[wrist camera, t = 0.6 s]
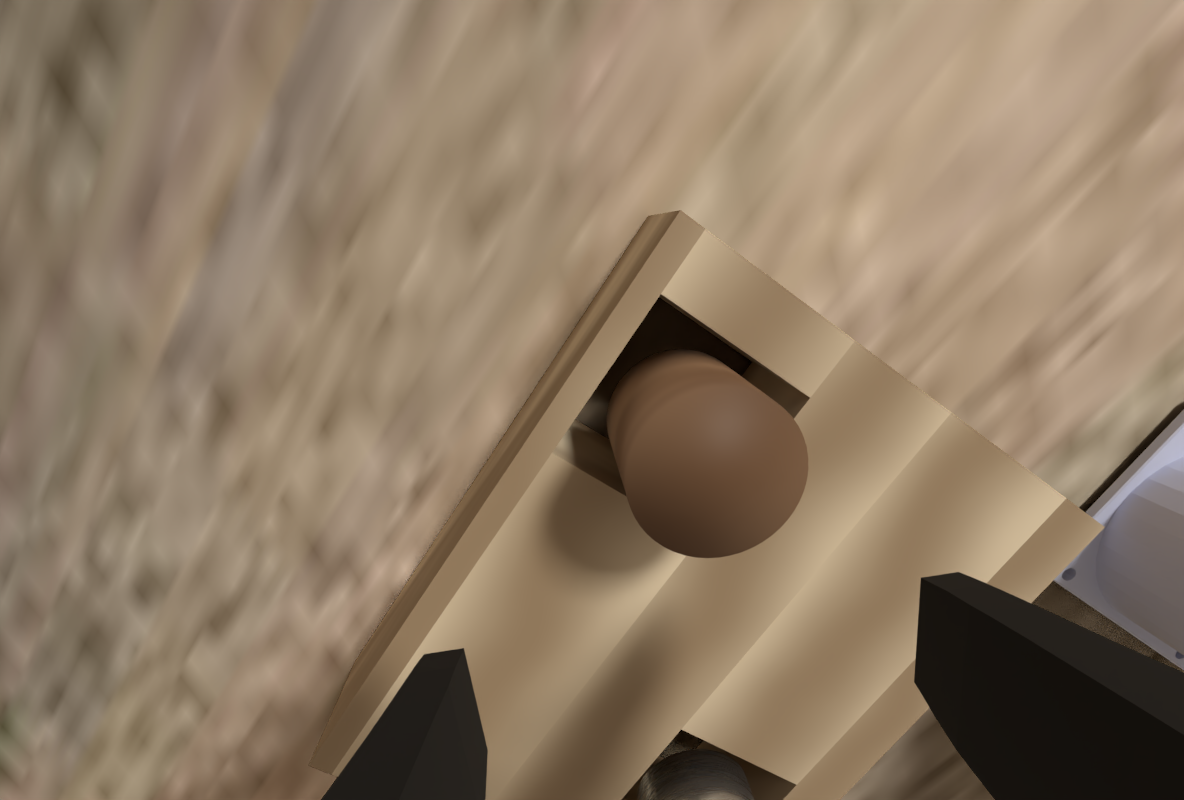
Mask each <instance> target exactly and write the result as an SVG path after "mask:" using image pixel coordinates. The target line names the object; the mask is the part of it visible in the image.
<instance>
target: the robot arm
mask: <svg viewBox="0 0 1184 800" xmlns="http://www.w3.org/2000/svg"><path fill="white" fill-rule="evenodd" d="M1085 513H1087V514H1088V515H1089V516H1091V517H1092V518H1093V519H1095V520H1096V521H1097V522H1099V523H1100V524H1101V525H1103V526H1104V527H1105V528H1104V529H1103V530H1102V531H1101V532H1100V533H1099V534H1098V535H1097V536H1096V537H1095V538H1094V539H1093V540H1092V541H1091V542H1090V543H1089V544H1088V545H1087V546H1086V547H1085V548H1084V549H1083V550H1082V551H1081V552H1080V553H1079V554H1078V556H1077V557H1076V558H1075V559H1074V560H1073V561H1072V562H1071V563H1070V564H1069V565H1068V566H1067V567H1066V568H1065V569H1064V570H1063V571H1062V572H1061V573H1060V574H1059V575H1058V576H1057V577H1056V578H1055V579H1054V580H1053V581H1055V582H1056V583H1057V584H1059V585H1060V586H1062V587H1063V588H1065V589H1066V590H1068V591H1069V592H1071V593H1072V594H1073V595H1075V596H1076V597H1078V598H1079V599H1081V600H1082V601H1084V602H1085V603H1086V604H1088V605H1089V606H1091V607H1092V608H1094V609H1095V610H1097V611H1098V612H1100V613H1101V614H1102V615H1104V616H1105V617H1107V618H1108V619H1110V620H1111V621H1113V622H1114V623H1116V624H1117V625H1118V626H1120V627H1121V628H1123V629H1124V630H1126V631H1127V632H1129V633H1130V634H1132V635H1133V636H1134V637H1136V638H1137V639H1139V640H1140V641H1142V642H1143V643H1145V644H1146V645H1148V646H1149V647H1150V648H1152V649H1153V650H1155V651H1156V652H1158V653H1159V654H1161V655H1162V656H1163V657H1165V658H1166V659H1168V660H1169V661H1171V662H1172V663H1174V664H1175V665H1177V666H1178V667H1179V668H1181V669H1182V670H1184V409H1183V410H1182V412H1181V413H1180V414H1179V415H1178V416H1177V417H1176V418H1175V419H1174V420H1173V421H1172V422H1171V423H1170V424H1169V425H1168V426H1167V427H1166V428H1165V429H1164V430H1163V431H1162V432H1161V434H1160V435H1159V436H1158V437H1157V438H1156V439H1155V440H1154V441H1153V442H1152V443H1151V444H1150V445H1149V446H1148V447H1147V448H1146V449H1145V450H1144V451H1143V452H1142V453H1141V454H1140V455H1139V457H1138V458H1137V459H1136V460H1135V461H1134V462H1133V463H1132V464H1131V465H1130V466H1129V467H1128V468H1127V469H1126V470H1125V471H1124V472H1123V473H1122V474H1121V475H1120V476H1119V477H1118V478H1117V480H1116V481H1115V482H1114V483H1113V484H1112V485H1111V486H1110V487H1109V488H1108V489H1107V490H1106V491H1105V492H1104V493H1103V494H1102V495H1101V496H1100V497H1099V498H1098V499H1097V500H1096V501H1095V503H1094V504H1093V505H1092V506H1091V507H1090V508H1089V509H1088V510H1087V511H1086V512H1085ZM914 683H915V684H916V686H917V688H918V689H919V691H920V693H921V694H922V696H923V697H924V699H925V701H926V702H927V704H928V706H929V707H930V709H931V711H932V712H933V714H934V716H935V717H936V719H937V720H938V722H939V724H940V725H941V727H942V728H943V730H944V731H945V733H946V734H947V736H948V737H949V739H950V741H951V742H952V744H953V745H954V747H955V748H956V750H957V751H958V752H959V754H960V755H961V756H962V758H963V759H964V760H965V762H966V763H967V764H968V766H969V767H970V768H971V769H972V771H973V772H974V773H975V775H976V776H977V777H978V778H979V780H980V781H981V782H982V784H983V785H984V786H985V787H986V789H987V790H988V791H989V793H990V794H991V795H992V796H993V798H994V799H995V800H1184V673H1183V672H1181V671H1179V670H1176V669H1174V668H1172V667H1170V666H1167V665H1165V664H1163V663H1160V662H1158V661H1156V660H1154V659H1151V658H1149V657H1147V656H1145V655H1143V654H1140V653H1138V652H1136V651H1134V650H1131V649H1129V648H1127V647H1125V646H1123V645H1120V644H1118V643H1116V642H1114V641H1112V640H1109V639H1107V638H1105V637H1103V636H1101V635H1098V634H1096V633H1094V632H1092V631H1090V630H1088V629H1085V628H1083V627H1081V626H1079V625H1077V624H1075V623H1072V622H1070V621H1068V620H1066V619H1064V618H1062V617H1059V616H1057V615H1055V614H1053V613H1051V612H1049V611H1046V610H1044V609H1042V608H1040V607H1038V606H1036V605H1033V604H1031V603H1029V602H1027V601H1025V600H1023V599H1020V598H1018V597H1016V596H1014V595H1012V594H1009V593H1007V592H1005V591H1003V590H1001V589H998V588H996V587H994V586H991V585H989V584H987V583H984V582H982V581H980V580H977V579H975V578H972V577H970V576H967V575H965V574H962V573H960V572H955V573H948V574H942V575H935V576H929V577H922V578H921V583H920V598H919V614H918V629H917V644H916V660H915V675H914ZM487 756H488V749H487V745H486V741H485V736H484V732H483V728H482V724H481V719H480V715H479V711H478V706H477V702H476V698H475V694H474V689H473V685H472V681H471V676H470V672H469V668H468V664H467V659H466V655H465V651H464V648H461V649H455V650H448V651H442V652H435V653H429V654H424V655H423V656H422V658H421V659H420V660H419V661H418V663H417V664H416V666H415V667H414V668H413V670H412V671H411V673H410V674H409V676H408V677H407V679H406V680H405V682H404V683H403V684H402V686H401V687H400V689H399V690H398V692H397V693H396V695H395V696H394V698H393V699H392V701H391V702H390V704H389V705H388V707H387V708H386V709H385V711H384V712H383V714H382V715H381V717H380V718H379V720H378V721H377V722H376V724H375V725H374V727H373V728H372V730H371V731H370V733H369V734H368V735H367V737H366V738H365V740H364V741H363V743H362V744H361V745H360V747H359V748H358V749H357V751H356V752H355V754H354V755H353V756H352V758H351V759H350V761H349V762H348V763H347V765H346V766H345V767H344V769H343V770H342V772H341V773H340V774H339V776H338V777H337V779H336V780H335V781H334V783H333V784H332V786H331V787H330V788H329V790H328V791H327V792H326V794H325V795H324V796H323V798H322V799H321V800H485V797H486V778H487Z"/></svg>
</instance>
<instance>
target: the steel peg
mask: <svg viewBox="0 0 1184 800" xmlns="http://www.w3.org/2000/svg"><path fill="white" fill-rule="evenodd" d="M637 800H754V798H753V795H752V792H751V789H750V787H749V784H748V781H747V778H746V776H745V773H744V771H743V769H742V768H741V766H740V765H739V764H738V763H737V762H736V761H735V760H734V759H733V758H731V757H730V756H728V755H726V754H724V753H721V752H718V751H714V750H708V749H691V750H686V751H682V752H678V753H675V754H672V755H670V756H668V757H666V758H664V759H662V760H661V761H659V762H658V763H656V764H655V765H654V766H653V767H652V768H651V769H650V770H649V771H648V772H647V773H646V774H645V776H644V777H643V779H642V781H641V782H640V785H639V788H638V792H637Z"/></svg>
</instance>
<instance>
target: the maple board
mask: <svg viewBox="0 0 1184 800" xmlns="http://www.w3.org/2000/svg"><path fill="white" fill-rule="evenodd" d="M659 297H660V298H661V299H663V300H664V301H666V302H667V303H668V304H670V305H671V306H673V307H674V308H676V309H677V310H679V311H680V312H681V313H683V314H684V315H686V316H687V317H689V318H690V319H691V320H693V321H694V322H696V323H697V324H699V325H700V326H702V327H703V328H704V329H706V330H707V331H709V332H710V333H712V334H713V335H714V336H716V337H717V338H719V339H720V340H722V341H723V342H725V343H726V344H727V345H729V346H730V347H732V348H733V349H735V350H736V351H738V352H739V353H740V354H742V355H743V356H745V357H746V358H748V359H749V360H750V361H752V363H751V364H750V366H749V367H748V368H747V370H746V371H745V372H744V374H743V375H742V376H741V377H743V378H744V379H745V380H747V381H748V382H750V383H751V384H752V385H754V386H755V387H756V388H758V389H759V390H761V391H762V392H763V393H765V394H766V395H767V396H769V397H770V398H771V399H773V400H774V401H776V402H777V403H778V404H779V405H781V406H782V407H783V408H784V409H785V410H786V411H787V412H788V413H789V414H790V415H791V416H792V417H793V419H794V420H795V422H796V423H797V424H798V426H799V428H800V430H801V432H802V434H803V436H804V440H805V443H806V446H807V452H808V476H807V482H806V485H805V489H804V492H803V495H802V497H801V499H800V502H799V503H798V505H797V507H796V509H795V511H794V512H793V513H792V515H791V516H790V518H789V519H788V520H787V521H786V522H785V524H784V525H783V526H782V527H781V528H780V529H779V530H778V531H776V532H775V533H774V534H773V535H772V536H771V537H769V538H768V539H766V540H765V541H763V542H762V543H760V544H758V545H757V546H755V547H753V548H751V549H748V550H746V551H743V552H741V553H738V554H734V555H730V556H725V557H719V558H696V557H690V556H685V555H682V554H679V553H676V552H673V551H671V550H669V549H667V548H665V547H663V546H662V545H660V544H659V543H657V542H656V541H654V540H653V539H652V538H651V537H650V536H649V535H647V534H646V532H645V531H644V530H643V529H642V528H641V527H640V525H639V524H638V522H637V520H636V519H635V517H634V515H633V513H632V511H631V508H630V506H629V502H628V499H627V496H626V492H625V489H624V486H623V483H622V479H621V476H620V473H619V469H618V466H617V463H616V459H615V456H614V453H613V450H612V446H611V443H610V440H609V439H607V438H605V437H604V436H602V435H600V434H599V433H597V432H595V431H594V430H592V429H590V428H589V427H587V426H585V425H584V424H582V423H580V422H579V421H577V420H576V417H577V416H578V414H579V413H580V411H581V410H582V408H583V407H584V405H585V404H586V403H587V401H588V400H589V398H590V397H591V395H592V394H593V392H594V391H595V389H596V388H597V387H598V385H599V384H600V382H601V381H602V379H603V378H604V376H605V375H606V373H607V372H608V370H609V369H610V368H611V366H612V365H613V363H614V362H615V360H616V359H617V357H618V356H619V354H620V353H621V352H622V350H623V349H624V347H625V346H626V344H627V343H628V341H629V340H630V338H631V337H632V335H633V334H634V333H635V331H636V330H637V328H638V327H639V325H640V324H641V322H642V321H643V319H644V318H645V317H646V315H647V314H648V312H649V311H650V309H651V308H652V306H653V305H654V303H655V302H656V300H657V299H658V298H659ZM1104 528H1105V527H1104V526H1103V525H1101V524H1100V523H1099V522H1097V521H1096V520H1095V519H1093V518H1092V517H1091V516H1089V515H1088V514H1087V513H1085V512H1084V511H1083V510H1081V509H1080V508H1079V507H1077V506H1076V505H1075V504H1073V503H1072V502H1071V501H1069V500H1068V499H1067V498H1065V497H1064V496H1063V495H1061V494H1060V493H1058V492H1057V491H1056V490H1054V489H1053V488H1052V487H1050V486H1049V485H1048V484H1046V483H1045V482H1044V481H1042V480H1041V479H1040V478H1038V477H1037V476H1036V475H1034V474H1033V473H1032V472H1030V471H1029V470H1028V469H1026V468H1025V467H1024V466H1022V465H1021V464H1020V463H1018V462H1017V461H1016V460H1014V459H1013V458H1012V457H1010V456H1009V455H1008V454H1006V453H1005V452H1004V451H1002V450H1001V449H1000V448H998V447H997V446H996V445H994V444H993V443H992V442H990V441H989V440H988V439H986V438H985V437H983V436H982V435H981V434H979V433H978V432H977V431H975V430H974V429H973V428H971V427H970V426H969V425H967V424H966V423H965V422H963V421H962V420H961V419H959V418H958V417H957V416H955V415H954V414H953V413H951V412H950V411H949V410H947V409H946V408H945V407H943V406H942V405H941V404H939V403H938V402H937V401H935V400H934V399H933V398H931V397H930V396H929V395H927V394H926V393H925V392H923V391H922V390H921V389H919V388H918V387H917V386H915V385H914V384H913V383H911V382H910V381H908V380H907V379H906V378H904V377H903V376H902V375H900V374H899V373H898V372H896V371H895V370H894V369H892V368H891V367H890V366H888V365H887V364H886V363H884V362H883V361H882V360H880V359H879V358H878V357H876V356H875V355H874V354H872V353H871V352H870V351H868V350H867V349H866V348H864V347H863V346H862V345H860V344H859V343H858V342H856V341H855V340H854V339H852V338H851V337H850V336H848V335H847V334H846V333H844V332H843V331H842V330H840V329H839V328H838V327H836V326H835V325H833V324H832V323H831V322H829V321H828V320H827V319H825V318H824V317H823V316H821V315H820V314H819V313H817V312H816V311H815V310H813V309H812V308H811V307H809V306H808V305H807V304H805V303H804V302H803V301H801V300H800V299H799V298H797V297H796V296H795V295H793V294H792V293H791V292H789V291H788V290H787V289H785V288H784V287H783V286H781V285H780V284H779V283H777V282H776V281H775V280H773V279H772V278H771V277H769V276H768V275H767V274H765V273H764V272H763V271H761V270H760V269H759V268H757V267H756V266H754V265H753V264H752V263H750V262H749V261H748V260H746V259H745V258H744V257H742V256H741V255H740V254H738V253H737V252H736V251H734V250H733V249H732V248H730V247H729V246H728V245H726V244H725V243H724V242H722V241H721V240H720V239H718V238H717V237H716V236H714V235H713V234H712V233H710V232H709V231H708V230H706V229H705V228H704V227H702V226H701V225H700V224H698V223H697V222H696V221H694V220H693V219H692V218H690V217H689V216H688V215H686V214H685V213H684V212H682V211H681V210H679V211H674V212H668V213H663V214H657V215H651V216H648V217H647V219H646V220H645V222H644V223H643V225H642V226H641V228H640V229H639V231H638V233H637V234H636V236H635V237H634V239H633V240H632V242H631V243H630V245H629V246H628V248H627V249H626V251H625V252H624V254H623V255H622V257H621V258H620V260H619V261H618V263H617V264H616V266H615V267H614V269H613V270H612V272H611V274H610V275H609V277H608V278H607V280H606V281H605V283H604V284H603V286H602V287H601V289H600V290H599V292H598V293H597V295H596V296H595V298H594V299H593V301H592V302H591V304H590V305H589V307H588V308H587V310H586V312H585V313H584V315H583V316H582V318H581V319H580V321H579V322H578V324H577V325H576V327H575V328H574V330H573V331H572V333H571V334H570V336H569V337H568V339H567V340H566V342H565V343H564V345H563V346H562V348H561V349H560V351H559V353H558V354H557V356H556V357H555V359H554V360H553V362H552V363H551V365H550V366H549V368H548V369H547V371H546V372H545V374H544V375H543V377H542V378H541V380H540V381H539V383H538V384H537V386H536V387H535V389H534V390H533V392H532V394H531V395H530V397H529V398H528V400H527V401H526V403H525V404H524V406H523V407H522V409H521V410H520V412H519V413H518V415H517V416H516V418H515V419H514V421H513V422H512V424H511V425H510V427H509V428H508V430H507V432H506V433H505V435H504V436H503V438H502V439H501V441H500V442H499V444H498V445H497V447H496V448H495V450H494V451H493V453H492V454H491V456H490V457H489V459H488V460H487V462H486V463H485V465H484V466H483V468H482V469H481V471H480V473H479V474H478V476H477V477H476V479H475V480H474V482H473V483H472V485H471V486H470V488H469V489H468V491H467V492H466V494H465V495H464V497H463V498H462V500H461V501H460V503H459V504H458V506H457V507H456V509H455V510H454V512H453V514H452V515H451V517H450V518H449V520H448V521H447V523H446V524H445V526H444V527H443V529H442V530H441V532H440V533H439V535H438V536H437V538H436V539H435V541H434V542H433V544H432V545H431V547H430V548H429V550H428V552H427V553H426V555H425V556H424V558H423V559H422V561H421V562H420V564H419V565H418V567H417V568H416V570H415V571H414V573H413V574H412V576H411V577H410V579H409V580H408V582H407V583H406V585H405V586H404V588H403V589H402V591H401V593H400V594H399V596H398V597H397V599H396V600H395V602H394V603H393V605H392V606H391V608H390V609H389V611H388V612H387V614H386V615H385V617H384V618H383V620H382V621H381V623H380V624H379V626H378V627H377V629H376V631H375V632H374V634H373V635H372V637H371V638H370V640H369V641H368V643H367V644H366V646H365V647H364V649H363V650H362V652H361V653H360V655H359V656H358V658H357V659H356V661H355V663H354V665H353V667H352V670H351V672H350V674H349V676H348V679H347V681H346V683H345V685H344V687H343V690H342V692H341V694H340V696H339V699H338V701H337V703H336V705H335V708H334V710H333V712H332V714H331V716H330V719H329V721H328V723H327V725H326V728H325V730H324V732H323V734H322V736H321V739H320V741H319V743H318V745H317V748H316V750H315V752H314V754H313V757H312V759H311V761H310V763H309V765H308V766H311V767H313V768H316V769H318V770H321V771H323V772H326V773H329V774H331V775H334V776H336V777H338V776H339V774H340V773H341V772H342V770H343V769H344V767H345V766H346V765H347V763H348V762H349V761H350V759H351V758H352V756H353V755H354V754H355V752H356V751H357V749H358V748H359V747H360V745H361V744H362V743H363V741H364V740H365V738H366V737H367V735H368V734H369V733H370V731H371V730H372V728H373V727H374V725H375V724H376V722H377V721H378V720H379V718H380V717H381V715H382V714H383V712H384V711H385V709H386V708H387V707H388V705H389V704H390V702H391V701H392V699H393V698H394V696H395V695H396V693H397V692H398V690H399V689H400V687H401V686H402V684H403V683H404V682H405V680H406V679H407V677H408V676H409V674H410V673H411V671H412V670H413V668H414V667H415V666H416V664H417V663H418V661H419V660H420V659H421V658H422V656H423V655H424V654H429V653H435V652H442V651H448V650H455V649H461V648H464V651H465V655H466V659H467V664H468V668H469V672H470V676H471V681H472V685H473V689H474V694H475V698H476V702H477V706H478V711H479V715H480V719H481V724H482V728H483V732H484V736H485V741H486V745H487V749H488V756H487V778H486V797H485V800H637V792H638V788H639V785H640V782H641V781H642V779H643V777H644V776H645V774H646V773H647V772H648V771H649V770H650V769H651V768H652V767H653V766H654V765H655V764H656V763H658V762H659V761H661V760H662V759H664V758H663V757H661V756H659V755H660V754H661V753H662V751H663V750H664V749H665V748H666V747H667V746H668V744H669V743H670V742H671V741H672V740H673V739H674V737H675V736H676V735H677V734H678V733H679V731H680V730H683V731H686V732H688V733H690V734H692V735H694V736H696V737H698V738H700V739H702V740H704V741H703V742H702V743H701V744H700V745H699V746H698V748H697V749H708V750H714V751H718V752H721V753H724V754H726V755H728V756H730V757H731V758H733V759H734V760H735V761H736V762H737V763H738V764H739V765H740V766H741V768H742V769H743V771H744V773H745V776H746V778H747V781H748V784H749V787H750V789H751V792H752V795H753V798H754V800H840V799H841V798H842V797H843V796H844V795H845V794H846V793H847V792H848V791H849V790H850V789H851V788H852V787H853V786H854V785H855V784H856V783H857V782H858V781H859V780H860V779H861V778H862V777H863V776H864V775H865V774H866V772H867V771H868V770H869V769H870V768H871V767H872V766H873V765H874V764H875V763H876V762H877V761H878V760H879V759H880V758H881V757H882V756H883V755H884V754H885V753H886V752H887V751H888V750H889V749H890V748H891V747H892V746H893V745H894V744H895V743H896V742H897V741H898V740H899V739H900V738H901V737H902V735H903V734H904V733H905V732H906V731H907V730H908V729H909V728H910V727H911V726H912V725H913V724H914V723H915V722H916V721H917V720H918V719H919V718H920V717H921V716H922V715H923V714H924V713H925V712H926V711H927V710H928V709H929V708H930V707H929V706H928V704H927V702H926V701H925V699H924V697H923V696H922V694H921V693H920V691H919V689H918V688H917V686H916V684H915V683H914V675H915V660H916V644H917V629H918V614H919V598H920V583H921V578H922V577H929V576H935V575H942V574H948V573H955V572H960V573H962V574H965V575H967V576H970V577H972V578H975V579H977V580H980V581H982V582H984V583H987V584H989V585H991V586H994V587H996V588H998V589H1001V590H1003V591H1005V592H1007V593H1009V594H1012V595H1014V596H1016V597H1018V598H1020V599H1023V600H1025V601H1027V602H1029V603H1032V602H1033V601H1034V600H1035V599H1036V598H1037V597H1038V596H1039V595H1040V594H1041V593H1042V592H1043V590H1044V589H1045V588H1046V587H1047V586H1048V585H1049V584H1050V583H1051V582H1052V581H1053V580H1054V579H1055V578H1056V577H1057V576H1058V575H1059V574H1060V573H1061V572H1062V571H1063V570H1064V569H1065V568H1066V567H1067V566H1068V565H1069V564H1070V563H1071V562H1072V561H1073V560H1074V559H1075V558H1076V557H1077V556H1078V554H1079V553H1080V552H1081V551H1082V550H1083V549H1084V548H1085V547H1086V546H1087V545H1088V544H1089V543H1090V542H1091V541H1092V540H1093V539H1094V538H1095V537H1096V536H1097V535H1098V534H1099V533H1100V532H1101V531H1102V530H1103V529H1104Z"/></svg>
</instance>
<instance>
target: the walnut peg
mask: <svg viewBox="0 0 1184 800" xmlns="http://www.w3.org/2000/svg"><path fill="white" fill-rule="evenodd" d="M607 431H608V436H609V440H610V443H611V446H612V450H613V453H614V456H615V459H616V463H617V466H618V469H619V473H620V476H621V479H622V483H623V486H624V489H625V492H626V496H627V499H628V502H629V506H630V508H631V511H632V513H633V515H634V517H635V519H636V520H637V522H638V524H639V525H640V527H641V528H642V529H643V530H644V531H645V532H646V534H647V535H649V536H650V537H651V538H652V539H653V540H654V541H656V542H657V543H659V544H660V545H662V546H663V547H665V548H667V549H669V550H671V551H673V552H676V553H679V554H682V555H685V556H690V557H696V558H719V557H725V556H730V555H734V554H738V553H741V552H743V551H746V550H748V549H751V548H753V547H755V546H757V545H758V544H760V543H762V542H763V541H765V540H766V539H768V538H769V537H771V536H772V535H773V534H774V533H775V532H776V531H778V530H779V529H780V528H781V527H782V526H783V525H784V524H785V522H786V521H787V520H788V519H789V518H790V516H791V515H792V513H793V512H794V511H795V509H796V507H797V505H798V503H799V502H800V499H801V497H802V495H803V492H804V489H805V485H806V482H807V476H808V452H807V446H806V443H805V440H804V436H803V434H802V432H801V430H800V428H799V426H798V424H797V423H796V422H795V420H794V419H793V417H792V416H791V415H790V414H789V413H788V412H787V411H786V410H785V409H784V408H783V407H782V406H781V405H779V404H778V403H777V402H776V401H774V400H773V399H771V398H770V397H769V396H767V395H766V394H765V393H763V392H762V391H761V390H759V389H758V388H756V387H755V386H754V385H752V384H751V383H750V382H748V381H747V380H745V379H744V378H743V377H741V376H740V375H739V374H737V373H736V372H735V371H733V370H732V369H730V368H729V367H728V366H726V365H725V364H724V363H722V362H721V361H720V360H718V359H716V358H714V357H713V356H711V355H708V354H706V353H703V352H699V351H695V350H688V349H674V350H667V351H663V352H660V353H656V354H654V355H652V356H649V357H647V358H645V359H644V360H642V361H640V362H639V363H637V364H636V365H635V366H633V367H632V368H631V369H630V370H629V371H628V372H627V373H626V374H625V375H624V376H623V378H622V379H621V380H620V381H619V383H618V385H617V386H616V388H615V390H614V392H613V394H612V396H611V399H610V402H609V406H608V411H607Z"/></svg>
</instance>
